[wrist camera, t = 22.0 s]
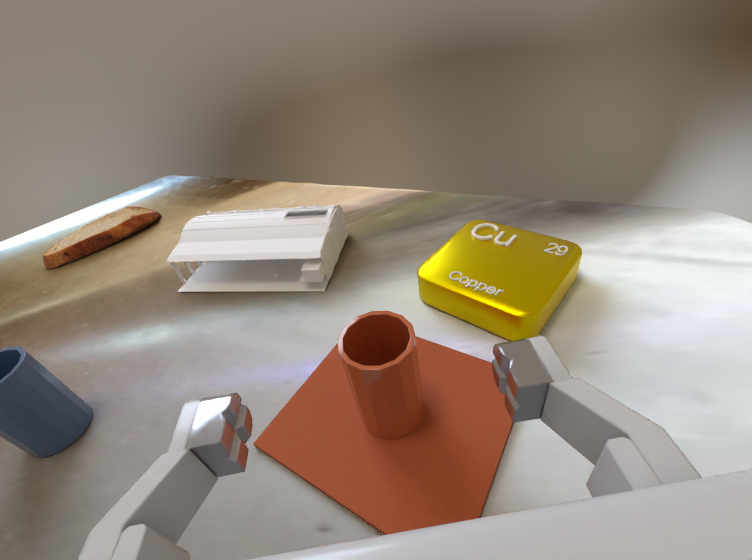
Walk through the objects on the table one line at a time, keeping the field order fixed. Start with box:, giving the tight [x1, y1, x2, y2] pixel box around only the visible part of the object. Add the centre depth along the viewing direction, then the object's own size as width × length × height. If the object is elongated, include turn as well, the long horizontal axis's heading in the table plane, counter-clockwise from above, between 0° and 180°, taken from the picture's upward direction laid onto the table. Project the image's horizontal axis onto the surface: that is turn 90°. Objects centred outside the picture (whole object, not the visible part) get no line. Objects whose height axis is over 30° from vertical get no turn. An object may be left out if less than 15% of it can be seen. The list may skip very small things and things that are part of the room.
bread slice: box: [43, 207, 161, 269], centre depth 73 cm, size 18×18×4 cm
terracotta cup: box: [338, 311, 424, 439], centre depth 31 cm, size 6×6×10 cm
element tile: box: [417, 220, 582, 341], centre depth 44 cm, size 15×15×5 cm
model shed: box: [166, 205, 348, 292], centre depth 56 cm, size 25×15×7 cm, turn 80°
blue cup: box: [0, 347, 93, 457], centre depth 36 cm, size 6×6×10 cm
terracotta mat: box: [253, 336, 513, 535], centre depth 34 cm, size 18×20×1 cm
